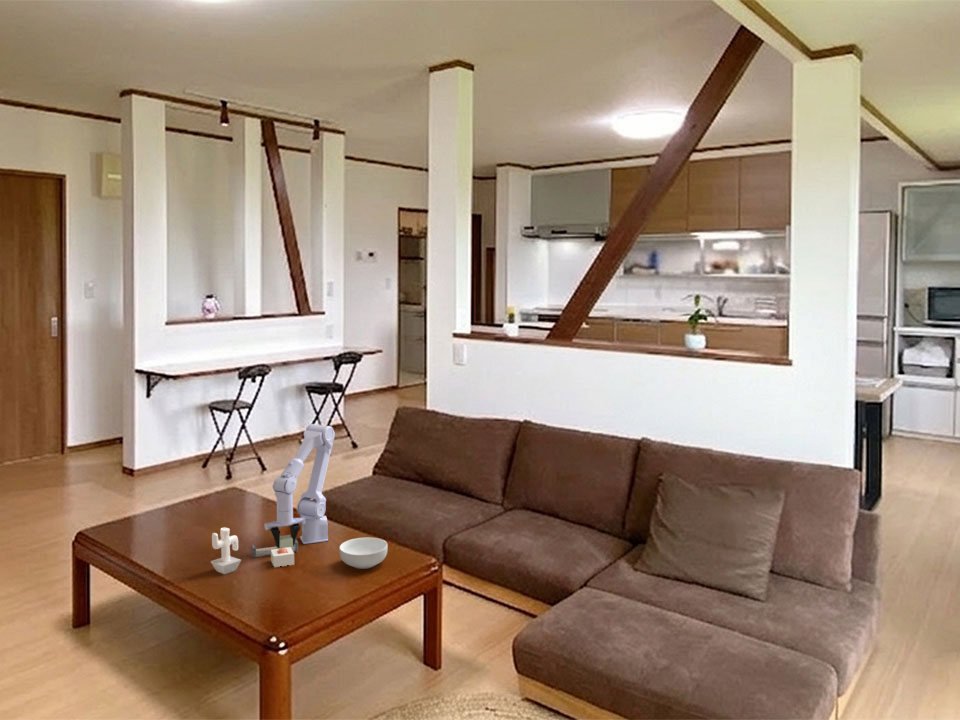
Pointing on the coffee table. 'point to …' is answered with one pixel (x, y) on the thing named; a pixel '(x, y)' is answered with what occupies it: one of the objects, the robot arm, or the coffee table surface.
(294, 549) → the slide rail
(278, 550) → the plunger
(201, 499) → the coffee table surface
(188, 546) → the coffee table surface
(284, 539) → the block
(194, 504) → the coffee table surface
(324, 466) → the robot arm
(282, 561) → the box
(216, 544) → the figurine
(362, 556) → the cereal bowl
